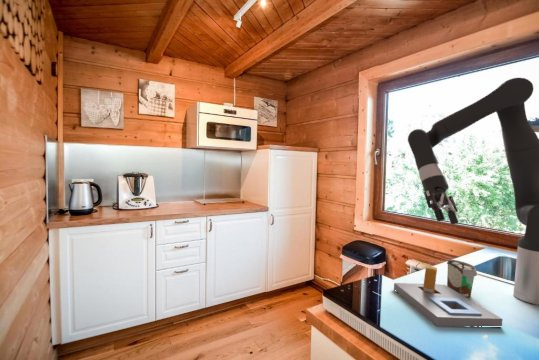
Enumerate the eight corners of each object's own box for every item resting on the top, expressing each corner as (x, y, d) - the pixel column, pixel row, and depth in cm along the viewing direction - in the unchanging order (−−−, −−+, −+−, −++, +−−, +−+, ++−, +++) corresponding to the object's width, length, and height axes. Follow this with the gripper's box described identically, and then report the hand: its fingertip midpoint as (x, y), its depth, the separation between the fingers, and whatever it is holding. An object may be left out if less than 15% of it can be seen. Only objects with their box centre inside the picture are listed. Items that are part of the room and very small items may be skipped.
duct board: (444, 291, 95) (444, 283, 95) (501, 328, 73) (502, 317, 73) (393, 290, 94) (394, 281, 94) (436, 326, 72) (437, 315, 72)
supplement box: (434, 301, 87) (437, 270, 87) (422, 297, 89) (424, 267, 89) (434, 297, 90) (437, 267, 90) (422, 294, 92) (425, 264, 91)
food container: (483, 303, 88) (485, 272, 87) (461, 300, 89) (464, 269, 89) (463, 287, 100) (466, 260, 100) (445, 285, 101) (447, 258, 101)
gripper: (431, 170, 93) (448, 216, 86) (453, 178, 100) (471, 221, 92) (411, 179, 98) (425, 223, 91) (433, 186, 105) (448, 227, 98)
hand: (448, 222), depth 92 cm, fingers open, 8 cm apart
